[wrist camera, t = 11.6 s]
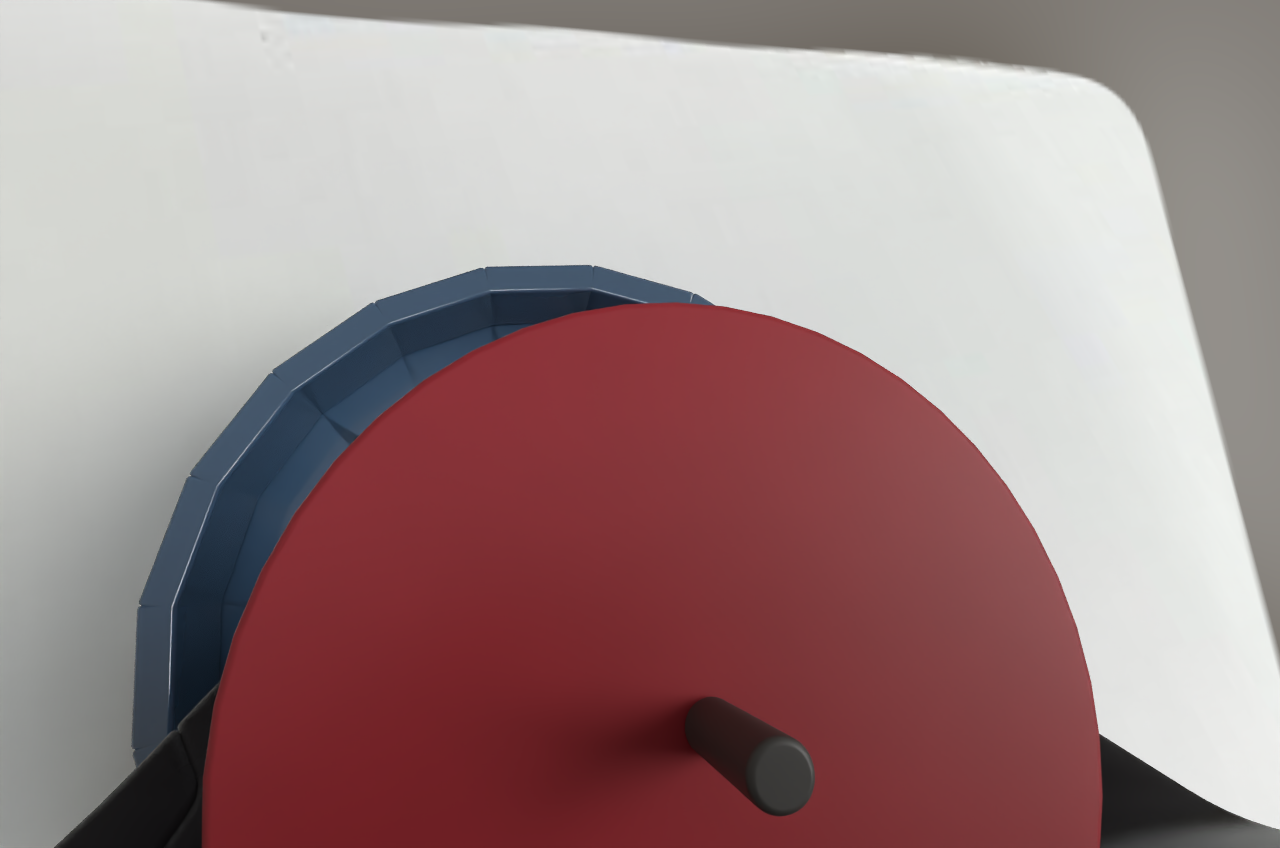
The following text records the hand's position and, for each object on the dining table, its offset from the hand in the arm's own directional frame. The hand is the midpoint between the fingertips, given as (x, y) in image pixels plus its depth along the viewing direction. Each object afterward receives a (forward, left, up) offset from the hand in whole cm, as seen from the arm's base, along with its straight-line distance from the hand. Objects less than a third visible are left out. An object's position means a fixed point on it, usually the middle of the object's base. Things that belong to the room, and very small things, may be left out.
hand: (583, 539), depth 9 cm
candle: (-1, +1, -7) cm, 7 cm away
